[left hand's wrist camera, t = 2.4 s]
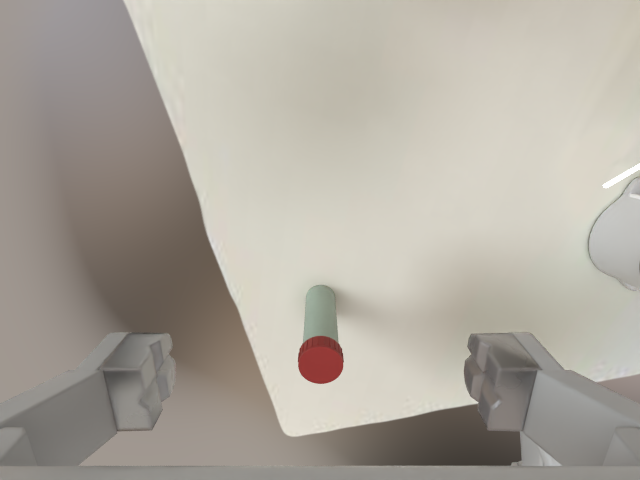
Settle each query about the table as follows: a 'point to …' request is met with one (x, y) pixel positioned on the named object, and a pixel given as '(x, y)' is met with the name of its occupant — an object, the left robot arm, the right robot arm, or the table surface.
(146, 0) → the table surface
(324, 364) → the lid
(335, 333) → the jar
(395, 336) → the table surface
